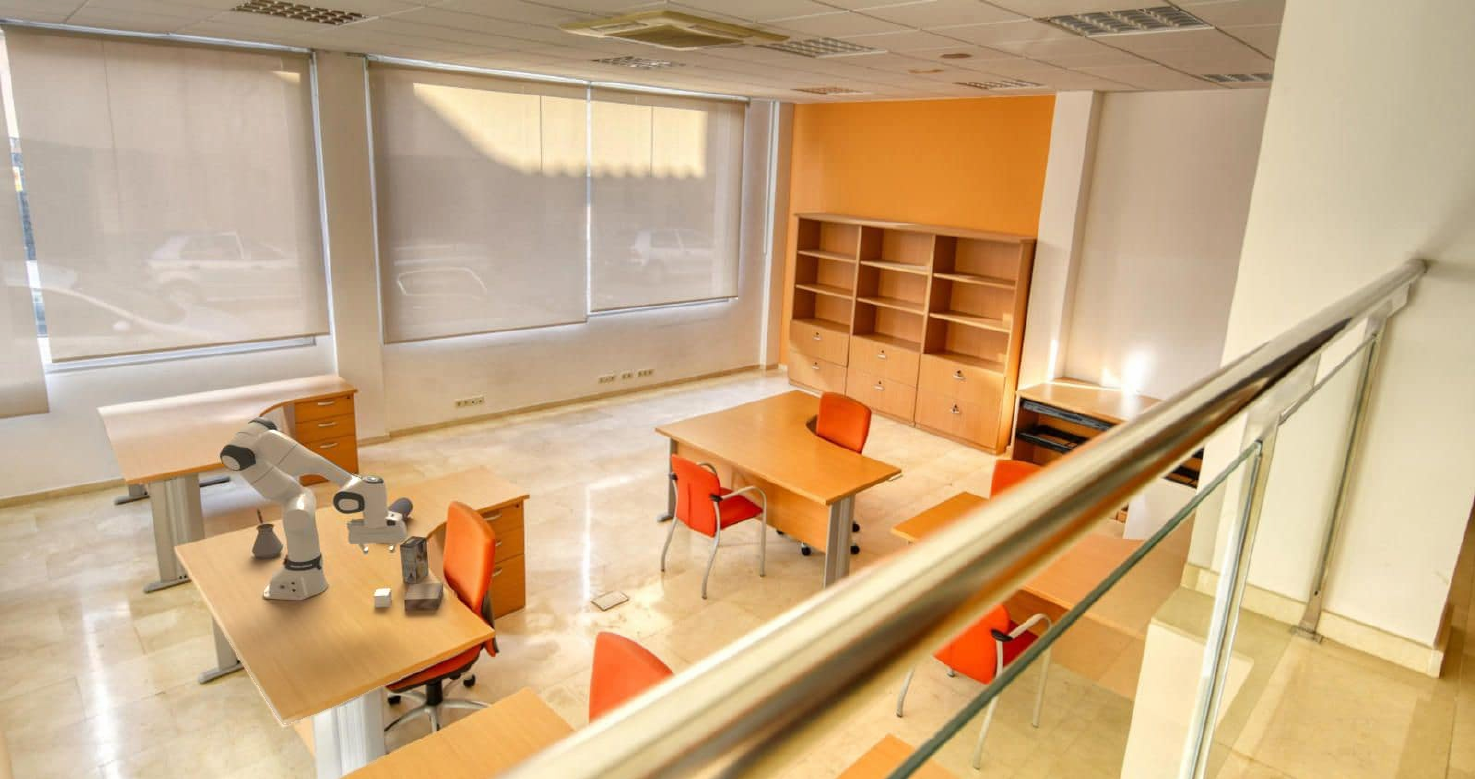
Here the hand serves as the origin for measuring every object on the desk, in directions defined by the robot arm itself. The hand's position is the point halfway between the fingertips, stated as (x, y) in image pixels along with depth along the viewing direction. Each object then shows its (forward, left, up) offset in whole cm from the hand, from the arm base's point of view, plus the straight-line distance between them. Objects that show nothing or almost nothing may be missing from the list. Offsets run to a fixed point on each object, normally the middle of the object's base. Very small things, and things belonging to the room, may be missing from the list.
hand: (379, 552), depth 326 cm
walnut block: (+15, 0, -22) cm, 26 cm away
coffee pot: (-58, +49, -22) cm, 79 cm away
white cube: (0, 0, -21) cm, 21 cm away
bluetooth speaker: (-10, +69, -22) cm, 73 cm away
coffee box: (+8, +20, -22) cm, 30 cm away
